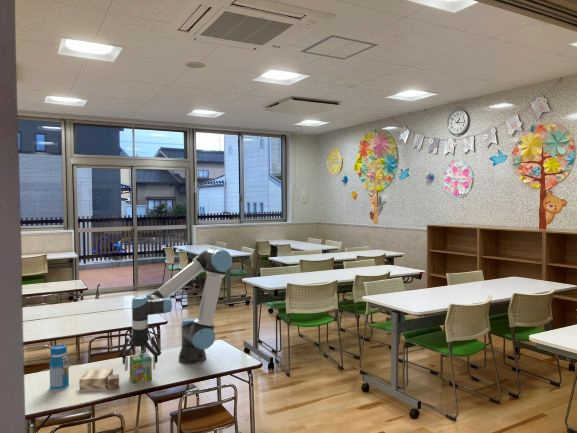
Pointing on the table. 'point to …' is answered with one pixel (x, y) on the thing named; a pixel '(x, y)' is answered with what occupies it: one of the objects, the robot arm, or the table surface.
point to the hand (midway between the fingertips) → (140, 369)
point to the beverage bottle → (59, 368)
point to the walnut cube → (113, 382)
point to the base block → (95, 379)
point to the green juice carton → (140, 367)
